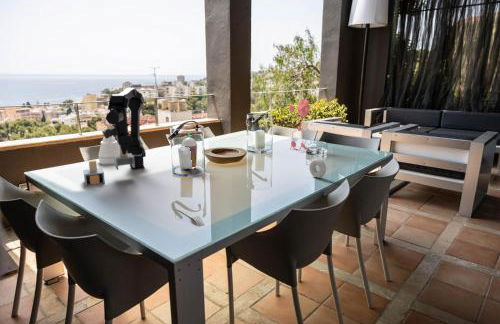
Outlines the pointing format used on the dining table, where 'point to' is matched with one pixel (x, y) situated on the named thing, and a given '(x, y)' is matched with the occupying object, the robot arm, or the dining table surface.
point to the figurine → (302, 110)
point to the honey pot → (108, 150)
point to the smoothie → (191, 148)
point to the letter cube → (94, 179)
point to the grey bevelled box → (123, 159)
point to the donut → (321, 168)
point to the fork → (191, 216)
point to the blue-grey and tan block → (93, 171)
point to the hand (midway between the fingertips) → (123, 153)
